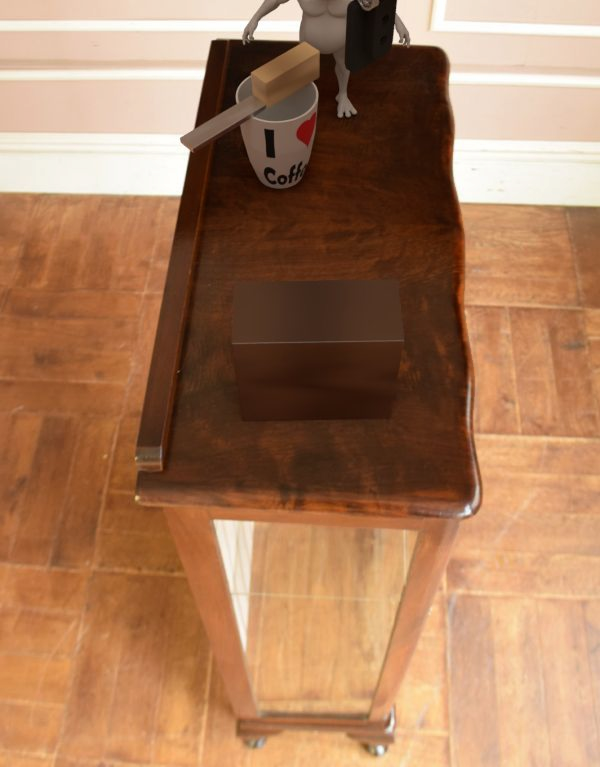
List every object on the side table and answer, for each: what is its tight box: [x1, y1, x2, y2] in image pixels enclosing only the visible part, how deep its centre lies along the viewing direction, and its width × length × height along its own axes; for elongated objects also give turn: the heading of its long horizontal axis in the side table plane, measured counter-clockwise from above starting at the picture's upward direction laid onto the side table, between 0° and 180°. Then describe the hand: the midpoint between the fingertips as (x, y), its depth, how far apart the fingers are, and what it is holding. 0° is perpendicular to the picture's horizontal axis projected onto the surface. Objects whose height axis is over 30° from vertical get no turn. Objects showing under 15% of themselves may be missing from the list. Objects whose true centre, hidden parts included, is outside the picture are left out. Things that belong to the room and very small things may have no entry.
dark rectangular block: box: [230, 278, 405, 422], centre depth 65 cm, size 13×6×12 cm, turn 91°
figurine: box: [241, 0, 411, 119], centre depth 82 cm, size 18×7×18 cm, turn 88°
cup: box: [235, 75, 319, 190], centre depth 80 cm, size 8×8×10 cm
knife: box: [179, 42, 321, 154], centre depth 74 cm, size 16×2×3 cm, turn 133°
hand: (308, 22), depth 45 cm, fingers open, 9 cm apart
